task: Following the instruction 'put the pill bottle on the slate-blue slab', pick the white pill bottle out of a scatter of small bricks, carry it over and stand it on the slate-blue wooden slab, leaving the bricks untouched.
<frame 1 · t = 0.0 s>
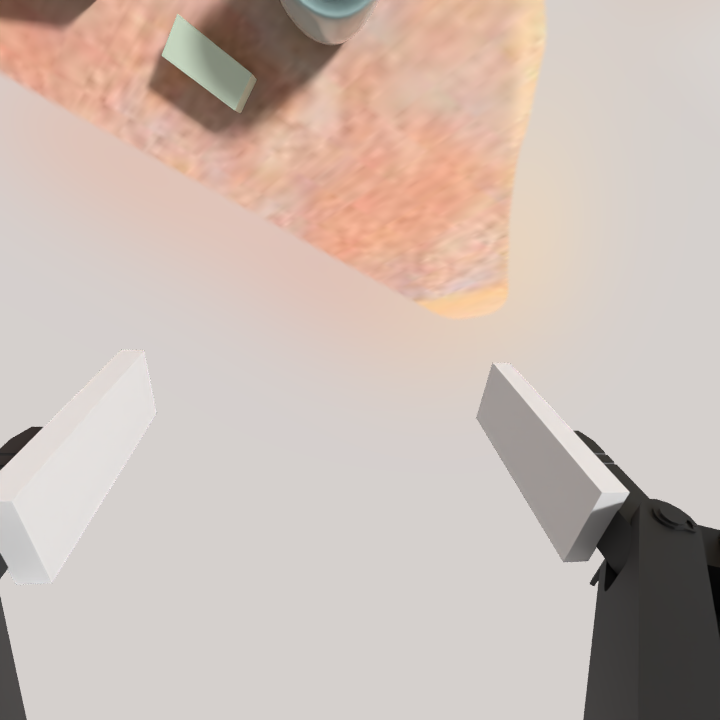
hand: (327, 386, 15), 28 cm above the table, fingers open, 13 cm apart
sage brick: (216, 72, 32), on the table
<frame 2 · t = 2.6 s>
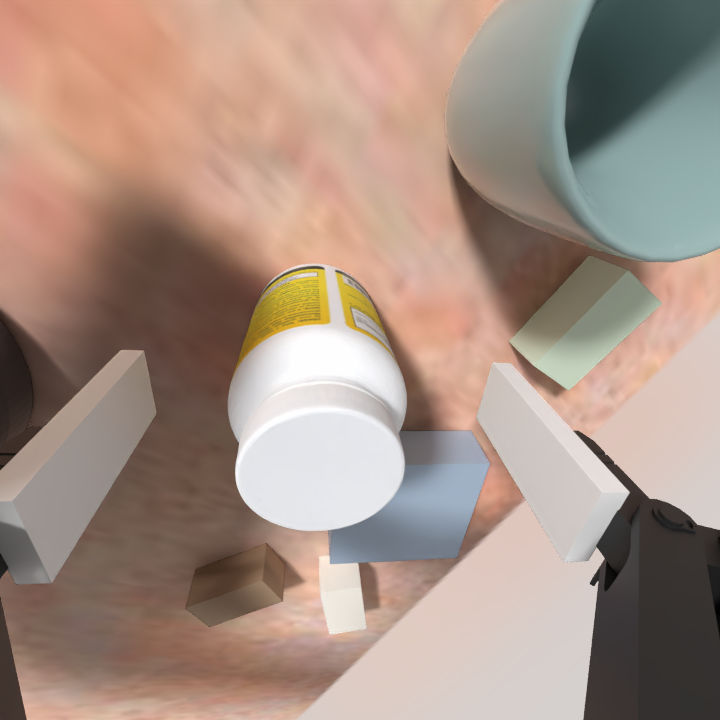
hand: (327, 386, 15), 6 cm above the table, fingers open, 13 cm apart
cream brick: (341, 573, 31), on the table
cup: (509, 112, 16), on the table
walnut brick: (241, 564, 29), on the table
pill bottle: (316, 317, 20), on the table
sage brick: (561, 312, 22), on the table
slab: (395, 480, 26), on the table
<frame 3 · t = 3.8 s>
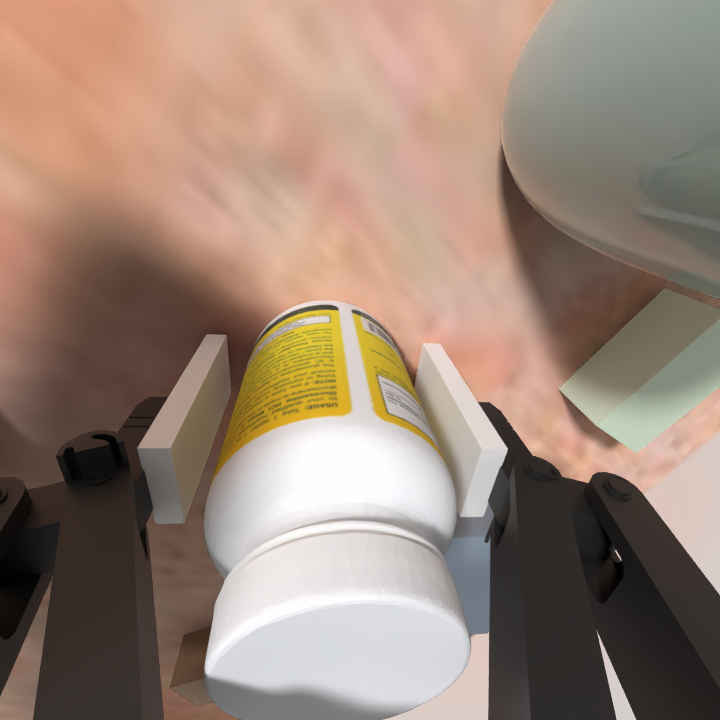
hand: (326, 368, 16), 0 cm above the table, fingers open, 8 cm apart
cup: (579, 110, 13), on the table
walnut brick: (236, 629, 26), on the table
pill bottle: (326, 362, 16), on the table
sage brick: (624, 355, 18), on the table
slab: (416, 542, 23), on the table
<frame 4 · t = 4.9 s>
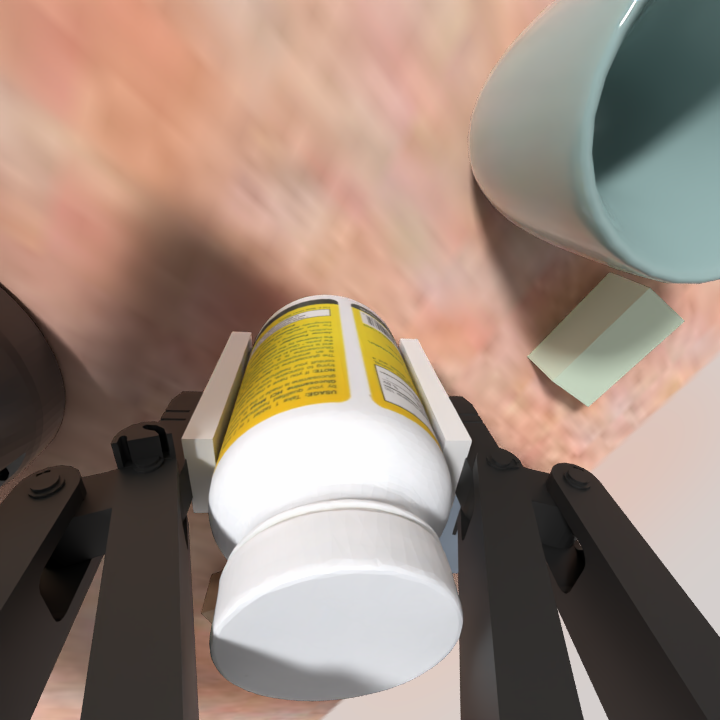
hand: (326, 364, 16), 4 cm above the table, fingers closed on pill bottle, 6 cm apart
cup: (531, 133, 17), on the table
walnut brick: (256, 572, 30), on the table
pill bottle: (326, 356, 17), point 4 cm above the table, touching gripper
sage brick: (581, 328, 22), on the table
slab: (411, 493, 26), on the table
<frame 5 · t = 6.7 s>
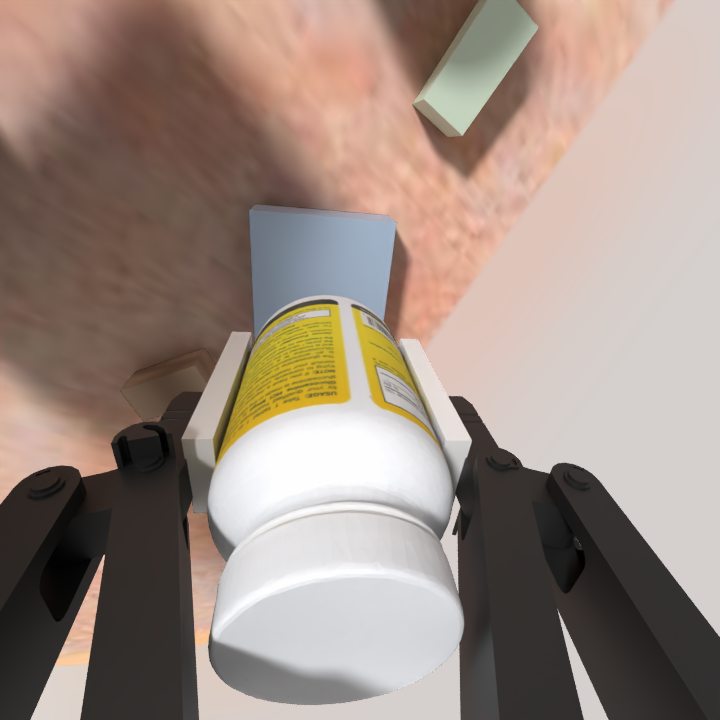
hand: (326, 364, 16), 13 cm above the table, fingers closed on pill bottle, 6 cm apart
walnut brick: (181, 373, 31), on the table
pill bottle: (326, 356, 17), point 13 cm above the table, touching gripper
sage brick: (461, 73, 23), on the table
slab: (320, 274, 28), on the table
when the fingers open (4 cm above the table, at t = 8.6 s): pill bottle drops 1 cm, resting on slab.
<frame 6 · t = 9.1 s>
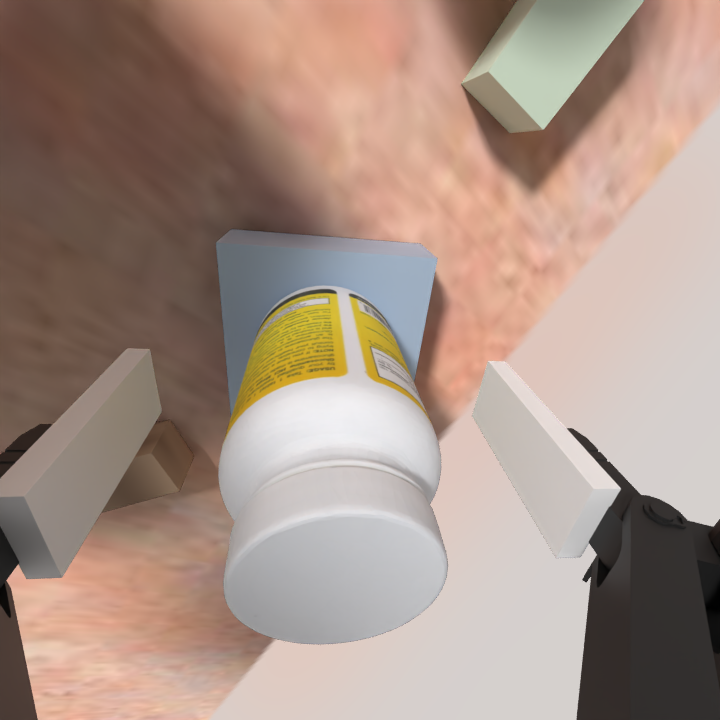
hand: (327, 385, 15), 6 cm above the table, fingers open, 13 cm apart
walnut brick: (137, 449, 23), on the table
pill bottle: (325, 344, 17), point 3 cm above the table, touching slab
sage brick: (535, 37, 15), on the table
slab: (324, 323, 20), on the table
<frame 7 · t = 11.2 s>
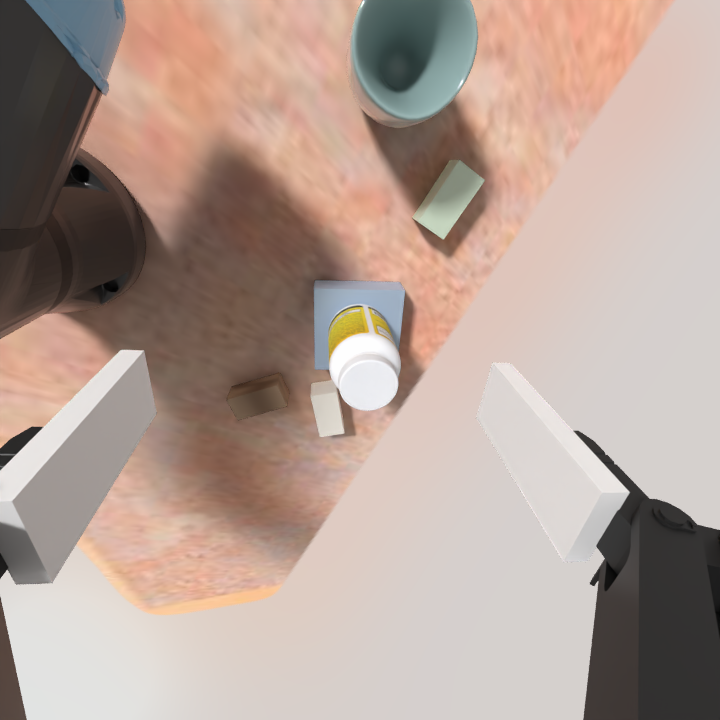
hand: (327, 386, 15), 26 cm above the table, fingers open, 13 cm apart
cream brick: (327, 401, 47), on the table
cup: (390, 77, 32), on the table
walnut brick: (261, 389, 45), on the table
pill bottle: (358, 329, 39), point 3 cm above the table, touching slab
sage brick: (441, 198, 37), on the table
slab: (355, 320, 42), on the table
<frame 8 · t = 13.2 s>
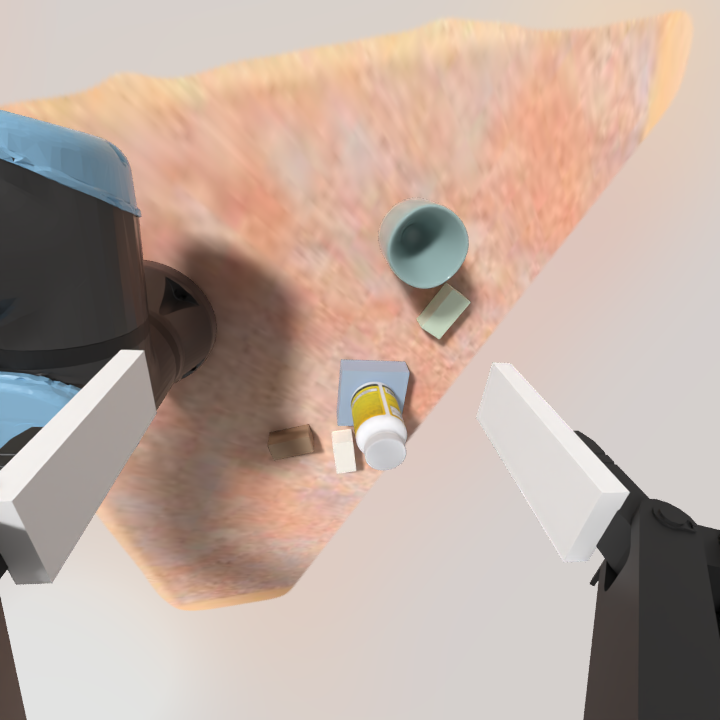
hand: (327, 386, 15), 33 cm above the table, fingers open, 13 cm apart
cream brick: (343, 444, 59), on the table
cup: (406, 229, 44), on the table
walnut brick: (292, 435, 57), on the table
pill bottle: (372, 398, 52), point 3 cm above the table, touching slab
sage brick: (439, 306, 49), on the table
slab: (369, 387, 54), on the table
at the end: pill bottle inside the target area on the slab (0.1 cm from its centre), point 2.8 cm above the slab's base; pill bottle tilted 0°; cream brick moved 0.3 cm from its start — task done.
